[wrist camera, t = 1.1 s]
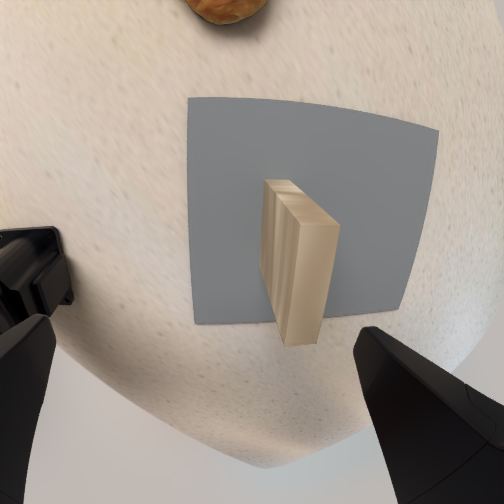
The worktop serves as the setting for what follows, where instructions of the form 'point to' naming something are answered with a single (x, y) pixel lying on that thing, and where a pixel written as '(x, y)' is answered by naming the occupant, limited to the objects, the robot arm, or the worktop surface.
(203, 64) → the worktop surface
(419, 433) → the robot arm
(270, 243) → the tile
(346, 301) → the mat
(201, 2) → the pastry
